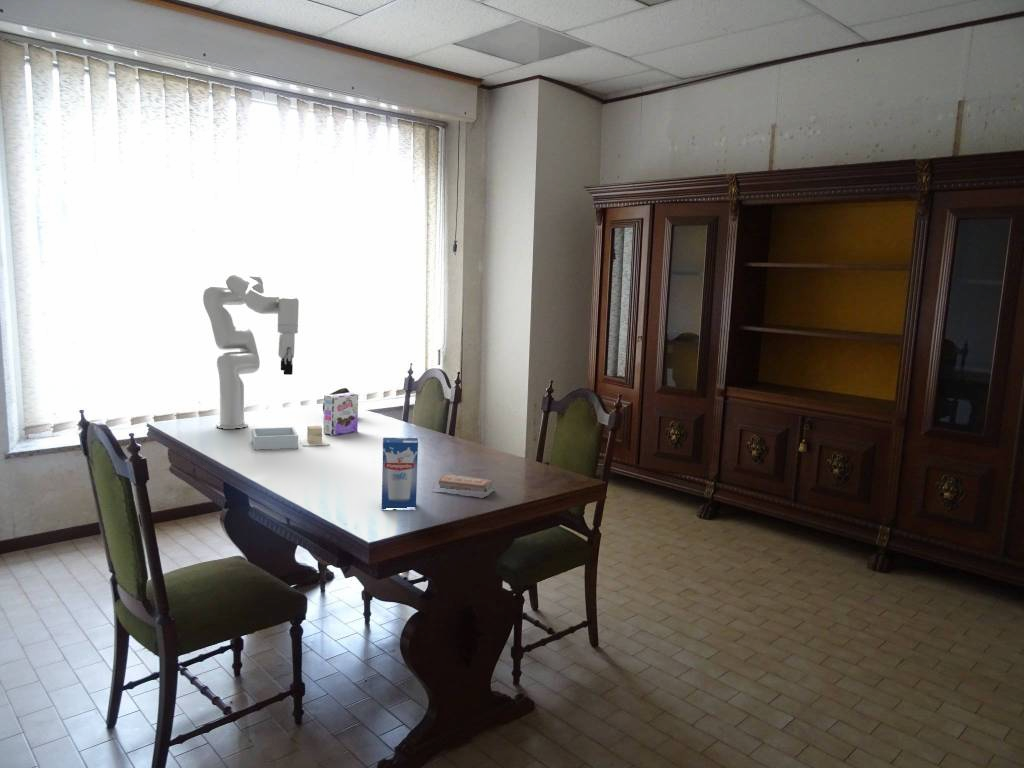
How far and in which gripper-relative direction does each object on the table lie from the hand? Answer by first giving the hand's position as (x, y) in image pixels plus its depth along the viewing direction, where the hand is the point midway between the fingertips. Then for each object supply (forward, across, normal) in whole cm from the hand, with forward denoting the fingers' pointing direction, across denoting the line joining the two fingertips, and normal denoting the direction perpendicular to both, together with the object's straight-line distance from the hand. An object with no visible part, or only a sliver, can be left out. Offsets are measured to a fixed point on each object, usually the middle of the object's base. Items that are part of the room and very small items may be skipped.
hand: (286, 372), depth 288 cm
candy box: (+27, -9, +24) cm, 37 cm away
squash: (+28, -41, +30) cm, 58 cm away
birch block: (+26, +8, +10) cm, 29 cm away
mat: (+27, +8, +11) cm, 30 cm away
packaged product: (+24, +84, +45) cm, 99 cm away
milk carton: (+24, +95, +21) cm, 100 cm away
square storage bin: (+27, +7, -4) cm, 28 cm away
